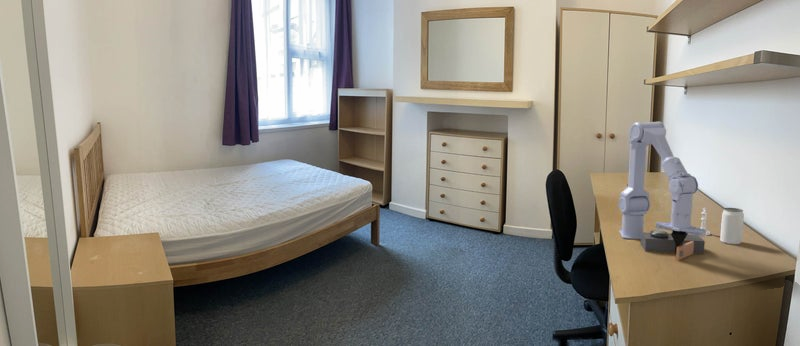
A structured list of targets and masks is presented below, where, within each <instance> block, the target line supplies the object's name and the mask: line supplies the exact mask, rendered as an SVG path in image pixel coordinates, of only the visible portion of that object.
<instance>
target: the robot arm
mask: <svg viewBox="0 0 800 346" xmlns="http://www.w3.org/2000/svg"><path fill="white" fill-rule="evenodd" d="M666 135H667V129H666V127H665V125H664V123H663V122H662V121H659V120H658V121H648V122H647V121H646V122H637V121H636V122H634V123H633V124H632V125H631V126H630V127H629V139H628V141H629V142H628V143H629V162H628V163H629V164H628V178H627V179H628V183H627V187H625V189H623V191H621V192H620V193H619V194H620V195H619V196H620V197H619V199H618V203H617V205H618V209H619V211H620V212H621V213H622V219H621V229H619V230H618V232H619V234H620V236H621V237H622V239H633V240H635V239H636V240H641V232H644V227H645V226H644V225H645V215H647V212H648V211H649V210H650V208H651V200H650V193H649V192H648V191H647V190H645V189H644V187H645V171H646V158H647V157H646V155H647V154H646V153H647V147H648V146H649V145H652V146H653V147H654V149H655V151H656V152H657V154H658V155H659V157H660V159H661V160H662V163H661V167H662V170H663V172H664V174H665V175H666V177H667V178H668V181H669V184H668V189H669V192H670V199H671V209H670V210H671V212H670V222H663V221H662V222H661V221H657V222H656V223H655V229H656V230H657V229H658V230H659V229H661V230H667V231H671V233H670V234H671V236H672V238H673V240H674V242H675V244H676V246H675V253H674V254H676V253H677V247H679V246H681V245H682V243H683V241H684V239H685V238H686V236H687V235H688V234H692V235H699V236H700V237H701V238H704V237H706V236H707V235H706V230H705V229H700V228H701V227H696V226H693V225H692V211H693V199H694V198H693V197H694V194H696V193H697V191H698V189H699V183H698V179H697V178H696V177H695V176H694V175H692V174H691V173H688V171H687V170H686V168H685V166H684V165H683V163H682V161H681V159H680V158H679V157H677V156H674V154H673V152H672V151H673V150H672V149H671V147H670V145H669V143H668V139H667V138H666Z"/></svg>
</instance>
